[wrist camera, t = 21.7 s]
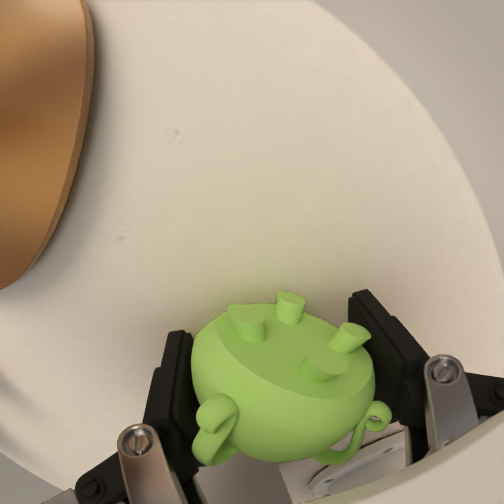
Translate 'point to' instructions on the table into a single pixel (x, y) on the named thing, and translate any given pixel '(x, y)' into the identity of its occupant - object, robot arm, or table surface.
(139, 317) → the table surface
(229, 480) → the cup
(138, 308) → the table surface
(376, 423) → the green kettle
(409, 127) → the table surface
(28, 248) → the lid
